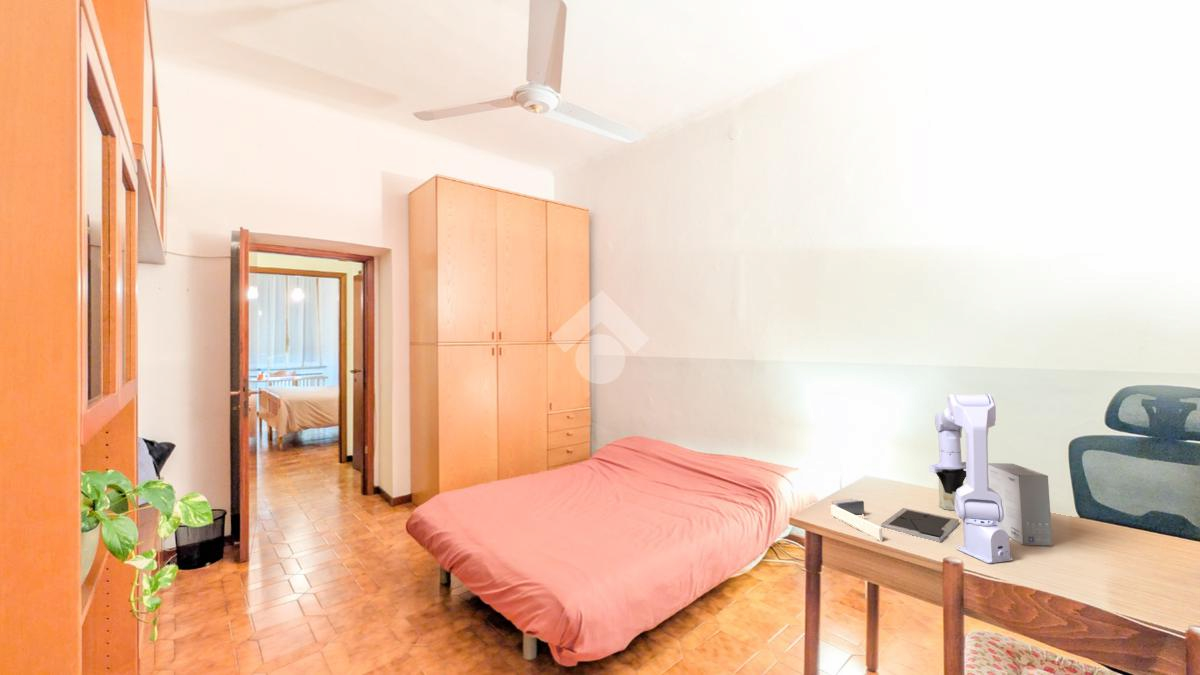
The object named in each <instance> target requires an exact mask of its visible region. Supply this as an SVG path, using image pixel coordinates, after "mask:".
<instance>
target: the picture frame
mask: <svg viewBox="0 0 1200 675" xmlns="http://www.w3.org/2000/svg"><path fill="white" fill-rule="evenodd" d="M959 520H960V518H959V519H958V518H954V517H950V516H949V517H948V516H944V515H940V514H934V513H930V512H925V511H920V510H917V509H916V510H914V509H911V508H910V509H909V508H905V507H903V508H900V509H899V511H897V512H896V513H894V514H893V515H891V516H890V517H888V519H886V520H884V521H883V522H882V523H880V527H883V528H887V529H891V530H895V531H898V532H903V533H906V534H909V535H908V536H910V535H913V536H912V537H914V536H916V537H915V538H918V537H920V538H919V539H922V538H924V540H926V539H928V540H927V541H930V540H932V541H931V542H935V541H936V542H935V543H941V542H943V541H944V539H945V538H946V537H948V536H949V534H950V533H951V532H952V531H953V530H954V529H955V528H956V527H957V526H958V525H959V524H960V522H959ZM906 534H905V535H906Z"/></svg>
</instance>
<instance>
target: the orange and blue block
mask: <svg viewBox="0 0 1200 675" xmlns="http://www.w3.org/2000/svg"><path fill="white" fill-rule="evenodd" d="M854 501H860V500H858V499H854V498H849V499H848V498H847V499H839V500H832V501H831V505H835V506H837V503H845V502H854Z"/></svg>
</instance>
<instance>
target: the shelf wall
mask: <svg viewBox="0 0 1200 675" xmlns="http://www.w3.org/2000/svg"><path fill="white" fill-rule="evenodd" d="M831 515H833V516H835V517H838V518H839V519H842V520H844V521H846V522H848V523H850V524H852V525H853V526H855V527H857V528H859V529H860V530H862V531H864V532H866V533H868V534H870V535H872V536H874V537H876V538H877V539H879V540H883V529H882V528H881V526H879V525H877V524H875V523H872V522H871V521H869V520H867V519H862V518H860V517H858V516H856V515H854V514H852V513H850V512H848V511H846V510H844V509H841V508H839V507H837V506H835V505H832V504H830V516H831Z"/></svg>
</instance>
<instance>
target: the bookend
mask: <svg viewBox="0 0 1200 675" xmlns="http://www.w3.org/2000/svg"><path fill="white" fill-rule="evenodd" d="M837 507H839V508H841V509H844V510H846V511H848V512H850V513H852V514H854V515H862V514H864V515H865V502H864V500H859V501H854V502H845V503H837Z"/></svg>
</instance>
